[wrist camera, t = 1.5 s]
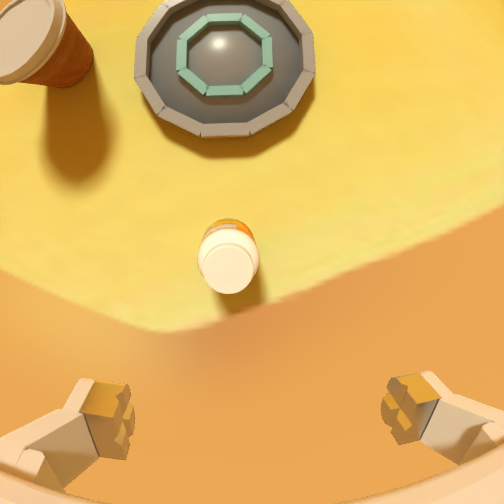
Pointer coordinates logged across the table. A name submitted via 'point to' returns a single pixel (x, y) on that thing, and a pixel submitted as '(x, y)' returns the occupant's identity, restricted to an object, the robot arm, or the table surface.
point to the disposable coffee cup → (41, 45)
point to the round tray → (224, 64)
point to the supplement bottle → (228, 256)
